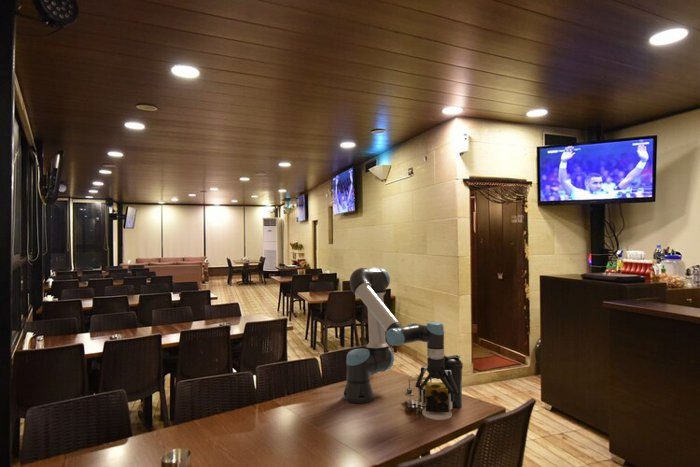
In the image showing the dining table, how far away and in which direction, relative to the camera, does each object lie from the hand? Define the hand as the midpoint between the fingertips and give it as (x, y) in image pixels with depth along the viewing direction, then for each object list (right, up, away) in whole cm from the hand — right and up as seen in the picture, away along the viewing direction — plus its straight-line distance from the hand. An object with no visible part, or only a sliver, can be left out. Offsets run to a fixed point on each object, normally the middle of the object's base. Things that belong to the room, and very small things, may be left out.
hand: (436, 406), depth 186 cm
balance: (-5, -4, +12) cm, 14 cm away
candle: (0, -1, 0) cm, 1 cm away
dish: (0, -4, 0) cm, 4 cm away
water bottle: (+10, -4, +11) cm, 15 cm away
